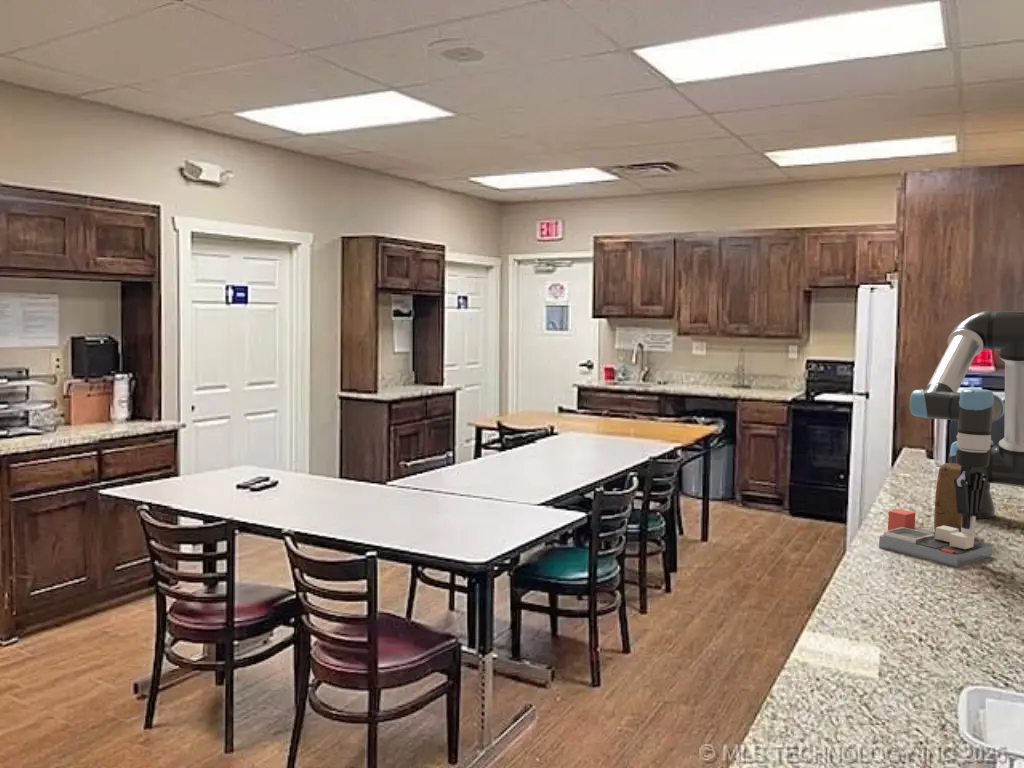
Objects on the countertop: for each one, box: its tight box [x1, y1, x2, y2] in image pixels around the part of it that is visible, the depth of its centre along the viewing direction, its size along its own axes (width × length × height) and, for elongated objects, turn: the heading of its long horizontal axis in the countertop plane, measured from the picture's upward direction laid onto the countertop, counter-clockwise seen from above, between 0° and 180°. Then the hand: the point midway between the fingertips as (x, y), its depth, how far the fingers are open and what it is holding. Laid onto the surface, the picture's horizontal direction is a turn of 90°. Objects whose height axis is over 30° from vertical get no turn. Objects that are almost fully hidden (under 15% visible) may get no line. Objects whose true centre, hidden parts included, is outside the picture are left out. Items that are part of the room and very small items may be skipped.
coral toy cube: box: [887, 508, 916, 531], centre depth 239 cm, size 5×5×7 cm
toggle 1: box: [934, 526, 959, 542], centre depth 223 cm, size 4×4×3 cm
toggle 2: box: [949, 532, 975, 549], centre depth 217 cm, size 4×4×3 cm
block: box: [933, 462, 962, 532], centre depth 242 cm, size 11×8×20 cm
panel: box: [878, 526, 993, 568], centre depth 224 cm, size 17×21×4 cm
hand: (967, 540), depth 218 cm, fingers closed
